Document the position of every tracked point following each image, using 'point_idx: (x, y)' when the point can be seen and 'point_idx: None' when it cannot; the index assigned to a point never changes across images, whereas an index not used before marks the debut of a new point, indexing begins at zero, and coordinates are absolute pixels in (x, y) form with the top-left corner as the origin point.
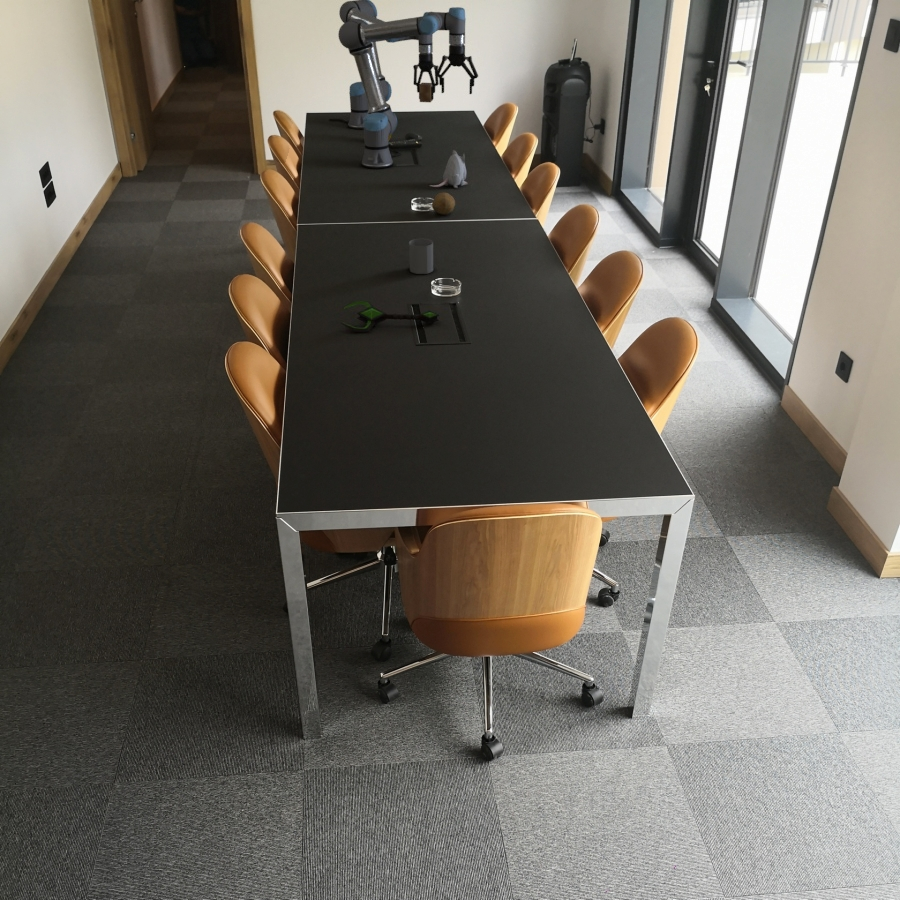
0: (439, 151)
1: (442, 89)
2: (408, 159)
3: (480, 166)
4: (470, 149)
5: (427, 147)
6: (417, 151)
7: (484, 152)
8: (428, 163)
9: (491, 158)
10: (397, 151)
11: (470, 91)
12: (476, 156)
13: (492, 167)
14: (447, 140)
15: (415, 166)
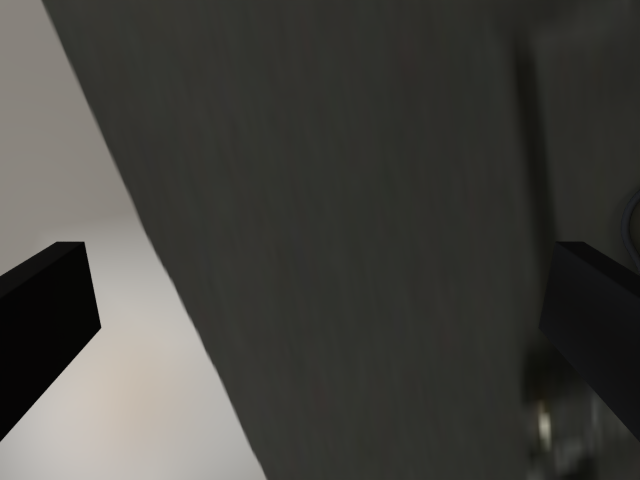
0: (431, 315)
1: (602, 265)
2: (570, 146)
3: (180, 81)
4: (300, 369)
5: (493, 367)
6: (533, 297)
7: (228, 335)
8: (459, 86)
9: (170, 243)
10: (634, 251)
11: (39, 258)
12: (247, 264)
13: (115, 74)
14: (420, 476)
15: (524, 6)
